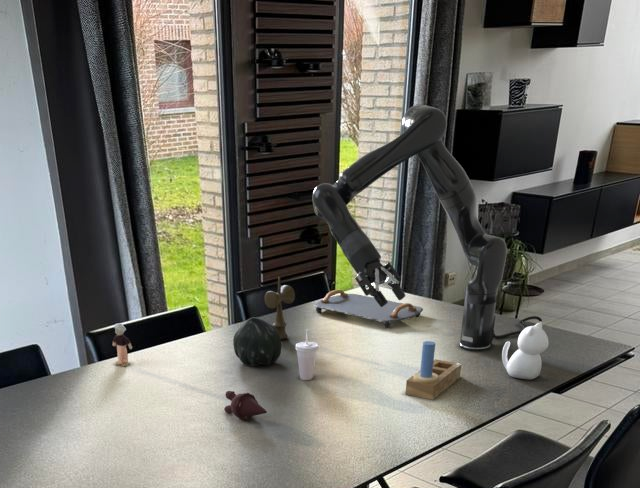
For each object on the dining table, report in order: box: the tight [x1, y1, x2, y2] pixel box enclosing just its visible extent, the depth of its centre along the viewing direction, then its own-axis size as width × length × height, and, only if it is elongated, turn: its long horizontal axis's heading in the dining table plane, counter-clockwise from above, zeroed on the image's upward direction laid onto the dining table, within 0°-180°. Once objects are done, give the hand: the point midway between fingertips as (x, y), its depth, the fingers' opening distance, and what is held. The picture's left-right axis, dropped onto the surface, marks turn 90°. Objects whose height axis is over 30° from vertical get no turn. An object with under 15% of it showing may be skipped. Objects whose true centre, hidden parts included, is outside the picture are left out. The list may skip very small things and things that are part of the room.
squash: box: [232, 316, 283, 367], centre depth 219 cm, size 14×15×15 cm
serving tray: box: [313, 289, 424, 329], centre depth 263 cm, size 39×23×6 cm, turn 45°
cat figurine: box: [501, 321, 550, 381], centre depth 203 cm, size 9×12×15 cm
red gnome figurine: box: [223, 390, 268, 421], centre depth 184 cm, size 7×7×15 cm
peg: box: [413, 340, 438, 383], centre depth 194 cm, size 6×6×13 cm
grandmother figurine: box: [112, 323, 133, 367], centre depth 221 cm, size 8×4×13 cm, turn 68°
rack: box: [405, 358, 462, 401], centre depth 201 cm, size 20×8×4 cm, turn 146°
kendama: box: [264, 276, 296, 341], centre depth 238 cm, size 6×10×20 cm, turn 141°
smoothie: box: [295, 328, 319, 381], centre depth 206 cm, size 6×6×14 cm
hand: (393, 301), depth 193 cm, fingers open, 8 cm apart
